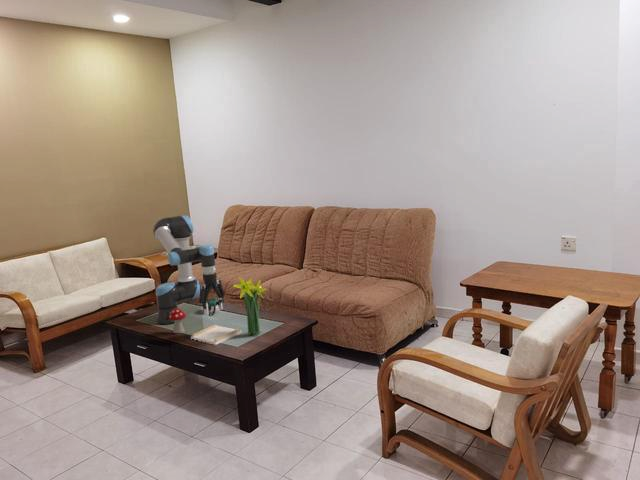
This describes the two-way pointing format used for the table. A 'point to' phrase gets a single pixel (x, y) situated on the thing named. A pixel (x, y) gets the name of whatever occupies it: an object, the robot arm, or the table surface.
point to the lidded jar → (215, 309)
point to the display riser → (215, 334)
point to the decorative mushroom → (177, 320)
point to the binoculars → (213, 304)
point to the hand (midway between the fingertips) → (213, 311)
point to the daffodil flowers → (249, 289)
